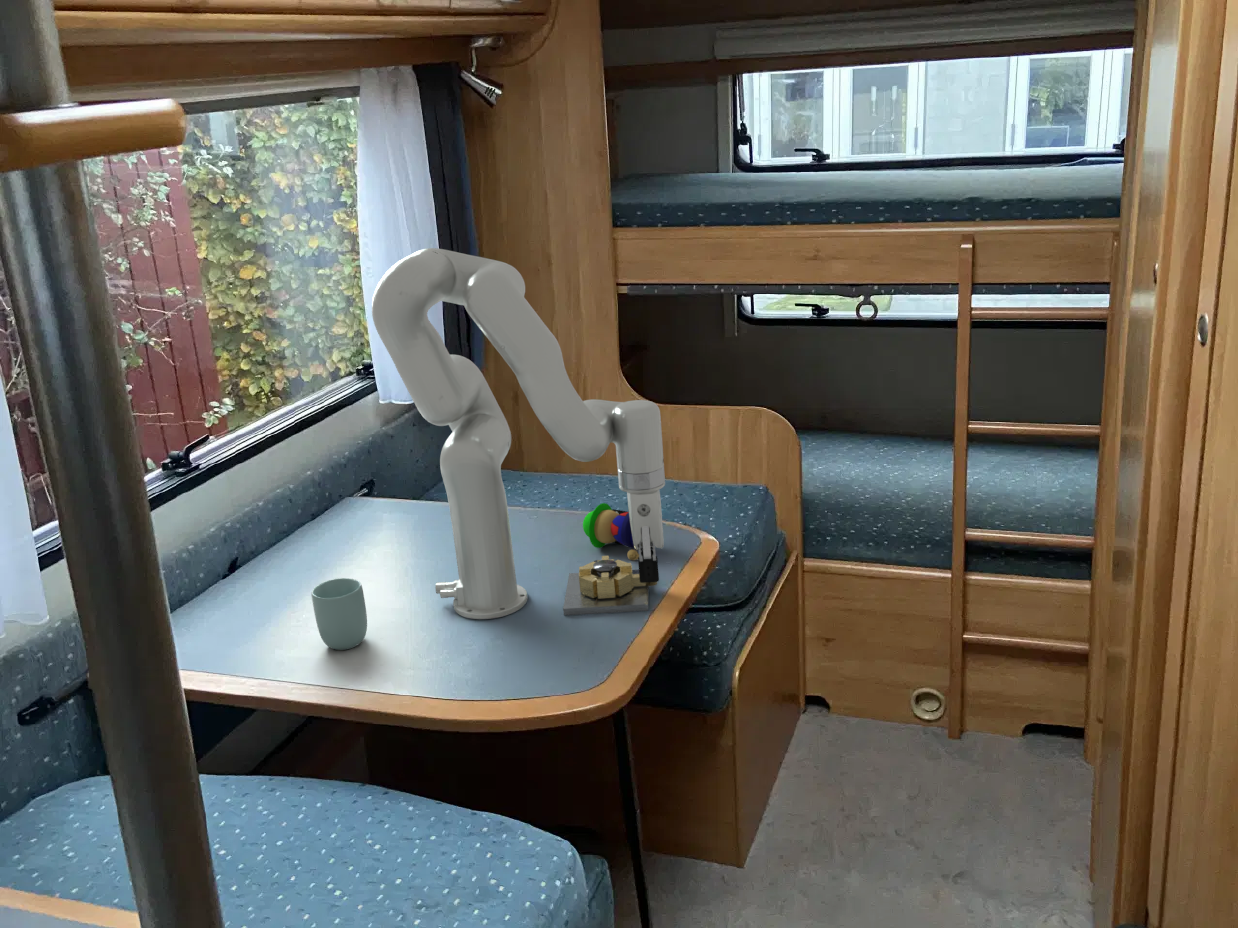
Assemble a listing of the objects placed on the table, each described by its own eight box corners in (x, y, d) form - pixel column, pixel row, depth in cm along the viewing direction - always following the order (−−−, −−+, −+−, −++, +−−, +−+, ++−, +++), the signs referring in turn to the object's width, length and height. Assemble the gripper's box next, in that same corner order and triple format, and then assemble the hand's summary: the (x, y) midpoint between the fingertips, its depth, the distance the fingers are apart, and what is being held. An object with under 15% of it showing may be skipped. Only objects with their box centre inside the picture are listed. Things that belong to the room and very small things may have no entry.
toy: (673, 508, 210) (605, 498, 217) (653, 494, 202) (583, 484, 210) (657, 569, 207) (588, 556, 215) (636, 557, 200) (566, 544, 207)
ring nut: (579, 599, 187) (577, 572, 186) (581, 577, 196) (578, 551, 194) (658, 594, 187) (656, 566, 185) (656, 571, 195) (654, 545, 194)
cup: (346, 659, 177) (336, 602, 173) (311, 649, 181) (300, 593, 177) (380, 638, 183) (371, 582, 180) (345, 629, 187) (336, 574, 184)
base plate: (563, 615, 186) (560, 584, 184) (570, 578, 199) (567, 549, 198) (648, 610, 185) (645, 579, 183) (648, 573, 199) (646, 544, 197)
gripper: (666, 491, 174) (673, 598, 180) (662, 460, 188) (669, 560, 194) (618, 494, 175) (627, 601, 180) (618, 463, 189) (626, 563, 195)
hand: (649, 580), depth 187 cm, fingers closed
